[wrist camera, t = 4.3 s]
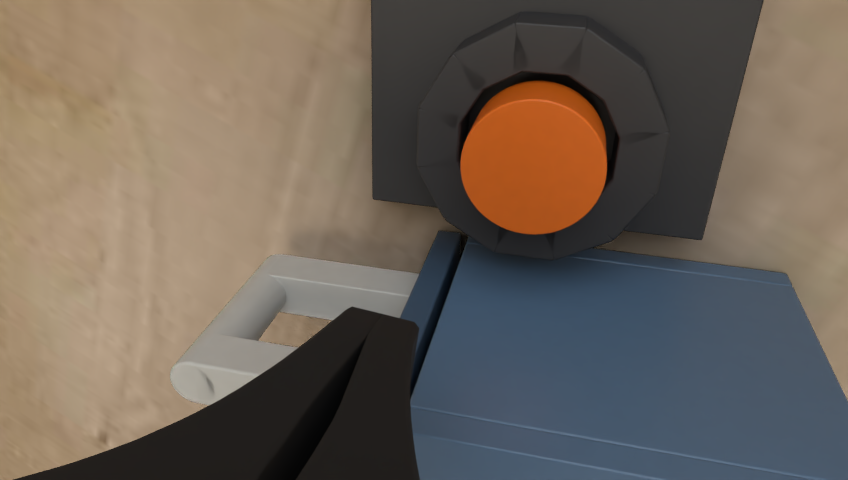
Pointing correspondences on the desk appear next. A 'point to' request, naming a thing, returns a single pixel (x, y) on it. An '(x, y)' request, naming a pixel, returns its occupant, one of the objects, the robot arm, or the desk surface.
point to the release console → (577, 69)
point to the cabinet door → (310, 313)
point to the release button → (535, 158)
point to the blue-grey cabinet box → (624, 374)
